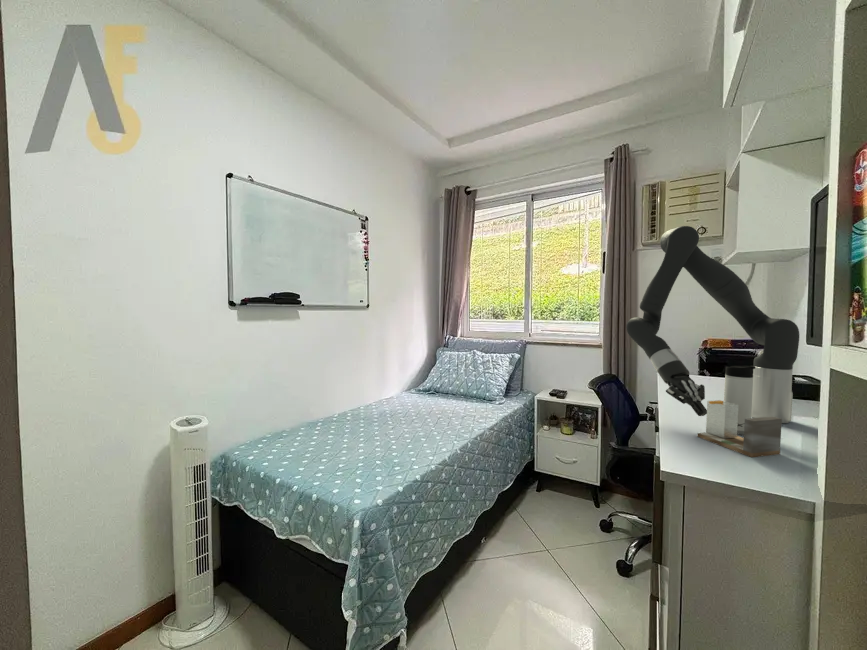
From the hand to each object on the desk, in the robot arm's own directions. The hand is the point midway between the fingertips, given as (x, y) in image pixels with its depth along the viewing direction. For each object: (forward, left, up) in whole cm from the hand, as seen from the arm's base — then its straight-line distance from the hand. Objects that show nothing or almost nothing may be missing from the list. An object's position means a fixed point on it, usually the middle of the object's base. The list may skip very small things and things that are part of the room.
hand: (703, 414), depth 102 cm
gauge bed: (0, +9, -5) cm, 11 cm away
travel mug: (-11, +1, -6) cm, 12 cm away
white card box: (+1, +5, -4) cm, 7 cm away
